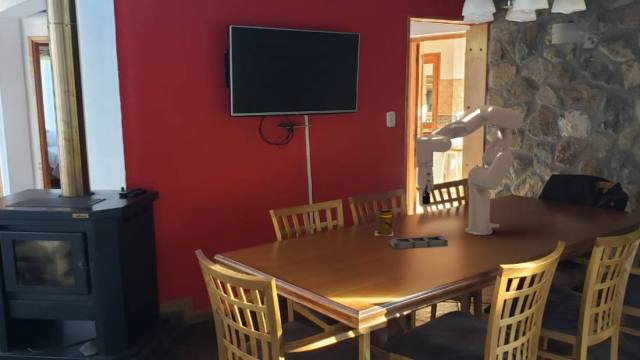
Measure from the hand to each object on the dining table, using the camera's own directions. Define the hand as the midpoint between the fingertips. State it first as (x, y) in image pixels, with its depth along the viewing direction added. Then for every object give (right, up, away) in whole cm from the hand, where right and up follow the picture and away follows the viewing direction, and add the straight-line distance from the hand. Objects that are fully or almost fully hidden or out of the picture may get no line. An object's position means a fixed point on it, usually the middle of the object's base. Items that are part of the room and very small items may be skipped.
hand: (424, 202), depth 260 cm
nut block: (0, -1, 0) cm, 1 cm away
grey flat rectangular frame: (-4, -18, -9) cm, 21 cm away
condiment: (-17, -15, +11) cm, 26 cm away
